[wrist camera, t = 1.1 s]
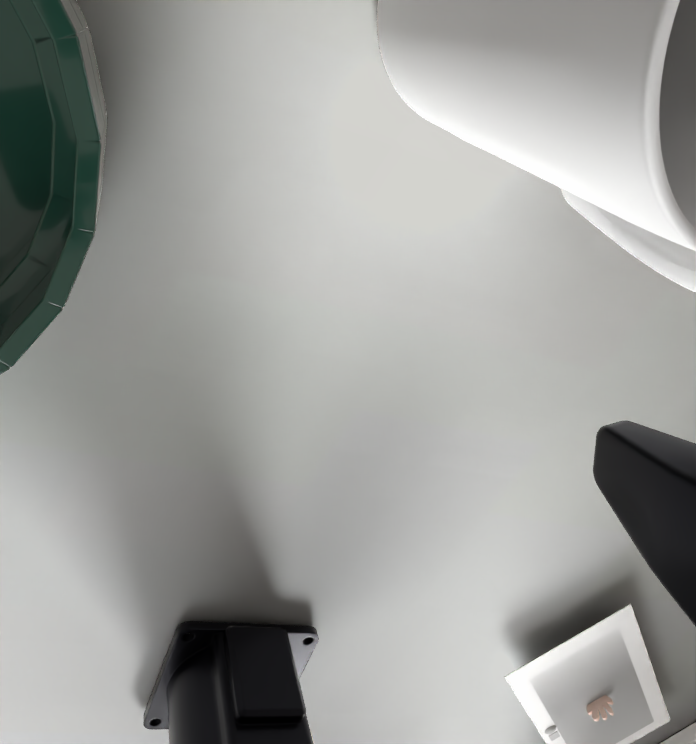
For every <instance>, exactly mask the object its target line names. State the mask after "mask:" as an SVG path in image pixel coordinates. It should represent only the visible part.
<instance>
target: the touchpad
mask: <svg viewBox="0 0 696 744" xmlns="http://www.w3.org/2000/svg"><path fill="white" fill-rule="evenodd" d="M505 679H506V680H507V682H508V684H509V685H510V687H511V688H512V690H513V692H514V693H515V695H516V696H517V698H518V700H519V701H520V703H521V704H522V706H523V708H524V709H525V711H526V712H527V714H528V716H529V717H530V719H531V720H532V722H533V724H534V725H535V727H536V728H537V730H538V731H539V733H540V735H541V736H542V738H543V739H544V741H545V743H546V744H631V743H633V742H634V741H636V740H638V739H639V738H641V737H643V736H645V735H646V734H648V733H650V732H652V731H653V730H655V729H657V728H659V727H660V726H662V725H664V724H666V723H667V722H669V721H671V720H670V718H669V715H668V712H667V709H666V706H665V703H664V700H663V697H662V694H661V691H660V688H659V685H658V682H657V679H656V676H655V673H654V670H653V667H652V664H651V661H650V658H649V655H648V652H647V649H646V646H645V644H644V641H643V638H642V635H641V632H640V629H639V626H638V623H637V620H636V617H635V614H634V611H633V608H632V605H631V604H629V605H628V606H626V607H624V608H622V609H621V610H619V611H617V612H616V613H614V614H612V615H610V616H609V617H607V618H605V619H603V620H602V621H600V622H598V623H596V624H595V625H593V626H591V627H590V628H588V629H586V630H584V631H583V632H581V633H579V634H577V635H576V636H574V637H572V638H571V639H569V640H567V641H565V642H564V643H562V644H560V645H558V646H557V647H555V648H553V649H551V650H550V651H548V652H546V653H545V654H543V655H541V656H539V657H538V658H536V659H534V660H532V661H531V662H529V663H527V664H525V665H524V666H522V667H520V668H519V669H517V670H515V671H513V672H512V673H510V674H508V675H506V676H505Z"/></svg>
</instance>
